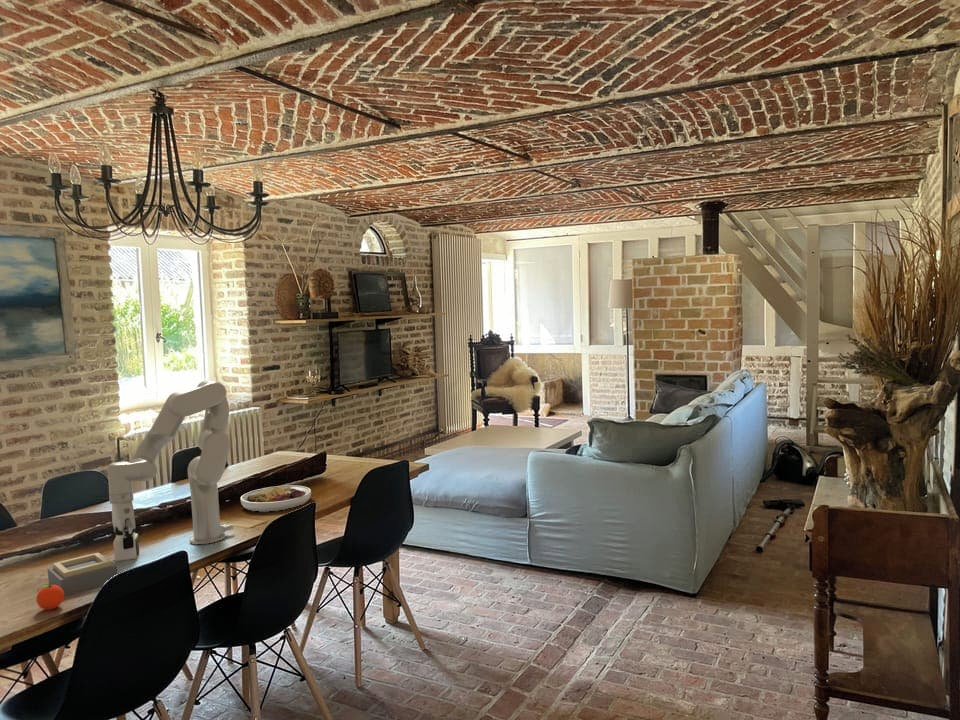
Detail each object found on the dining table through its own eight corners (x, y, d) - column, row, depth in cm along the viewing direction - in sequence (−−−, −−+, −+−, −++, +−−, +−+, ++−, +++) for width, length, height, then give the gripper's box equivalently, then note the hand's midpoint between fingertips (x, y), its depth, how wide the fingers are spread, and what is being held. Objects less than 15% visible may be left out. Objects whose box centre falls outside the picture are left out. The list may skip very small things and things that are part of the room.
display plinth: (103, 569, 237) (101, 550, 236) (118, 580, 225) (116, 560, 225) (48, 583, 226) (47, 563, 225) (61, 596, 214) (60, 575, 214)
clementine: (28, 613, 202) (26, 589, 202) (46, 603, 209) (44, 580, 209) (53, 614, 201) (50, 589, 200) (70, 604, 208) (68, 580, 207)
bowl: (226, 510, 306) (224, 493, 305) (275, 493, 332) (274, 477, 332) (278, 517, 292) (277, 498, 292) (325, 498, 319) (324, 481, 318)
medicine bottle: (137, 558, 246) (134, 524, 246) (114, 561, 244) (111, 527, 243) (139, 552, 253) (137, 519, 252) (117, 555, 251) (114, 522, 250)
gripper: (141, 499, 243) (143, 548, 244) (124, 491, 256) (127, 538, 257) (117, 503, 238) (120, 553, 239) (102, 495, 251) (104, 543, 252)
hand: (124, 545), depth 248 cm, fingers closed on medicine bottle, 9 cm apart
